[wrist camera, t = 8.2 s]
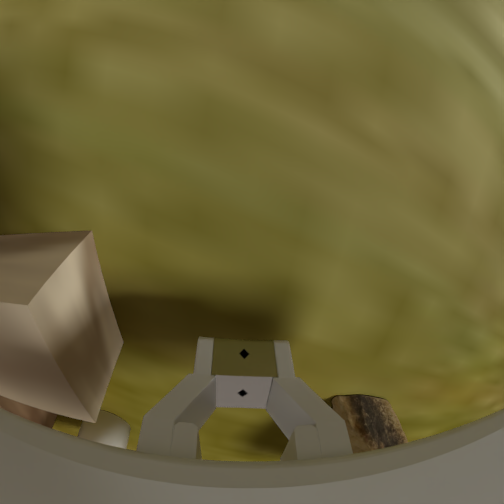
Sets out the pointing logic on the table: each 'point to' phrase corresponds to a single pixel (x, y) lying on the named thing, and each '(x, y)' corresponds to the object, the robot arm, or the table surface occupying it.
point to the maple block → (55, 324)
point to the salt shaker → (106, 430)
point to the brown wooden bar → (28, 412)
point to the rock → (369, 422)
